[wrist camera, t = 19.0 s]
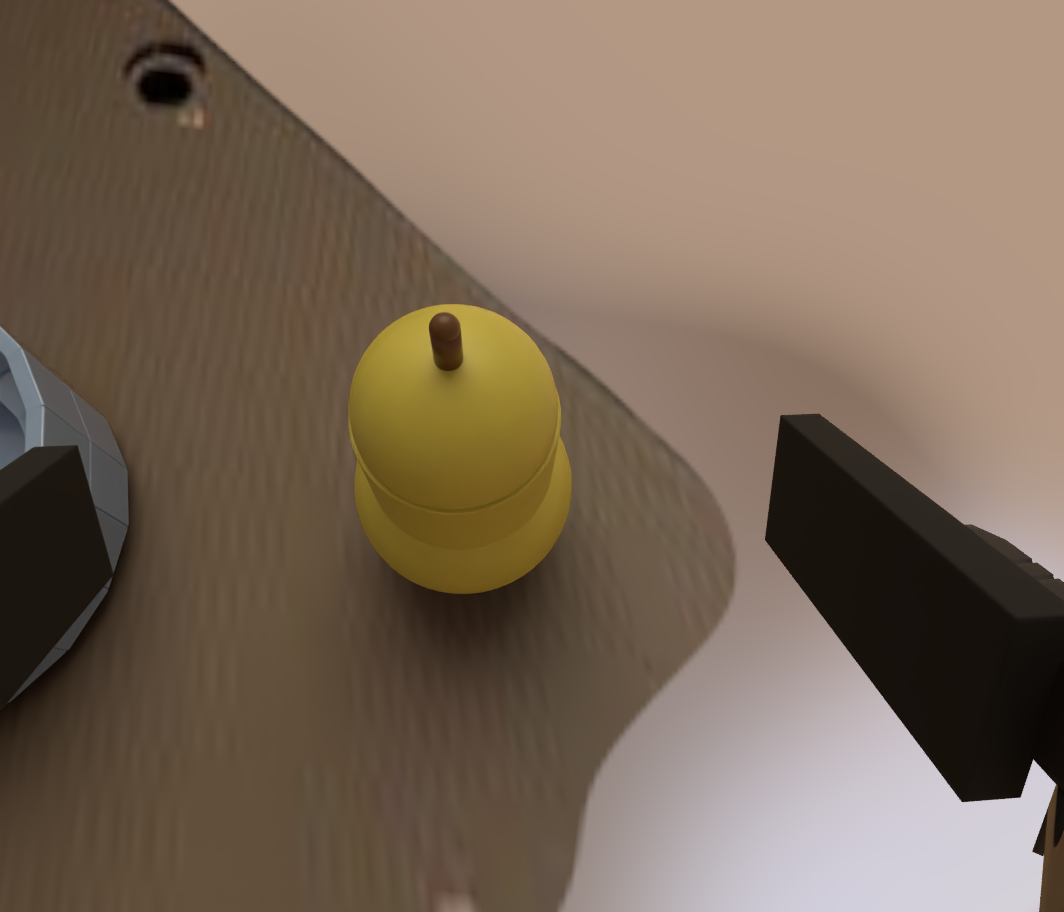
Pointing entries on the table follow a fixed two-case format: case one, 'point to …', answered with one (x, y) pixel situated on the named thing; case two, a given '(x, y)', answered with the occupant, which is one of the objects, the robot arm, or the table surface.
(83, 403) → the bowl
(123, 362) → the table surface
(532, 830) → the table surface
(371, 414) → the pear
